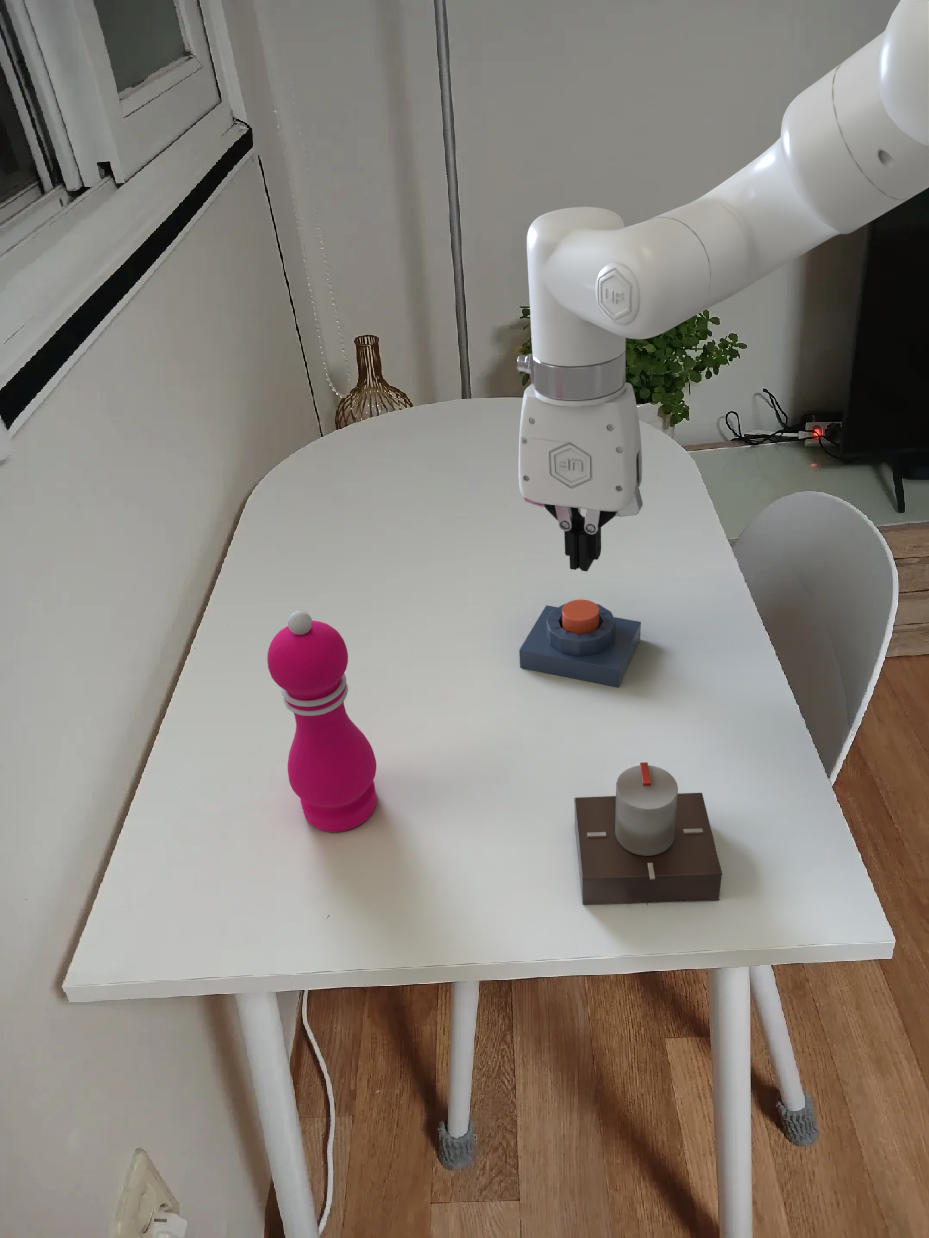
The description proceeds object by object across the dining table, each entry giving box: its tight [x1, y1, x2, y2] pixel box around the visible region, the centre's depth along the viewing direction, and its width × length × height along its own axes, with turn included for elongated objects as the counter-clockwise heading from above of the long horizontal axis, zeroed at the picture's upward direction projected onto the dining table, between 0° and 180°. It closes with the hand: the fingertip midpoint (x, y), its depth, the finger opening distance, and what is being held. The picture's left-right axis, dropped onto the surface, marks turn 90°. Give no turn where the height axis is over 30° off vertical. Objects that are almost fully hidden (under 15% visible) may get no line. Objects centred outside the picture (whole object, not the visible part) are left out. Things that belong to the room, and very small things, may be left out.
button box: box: [518, 603, 642, 688], centre depth 94 cm, size 10×8×4 cm
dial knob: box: [615, 761, 679, 856], centre depth 70 cm, size 4×4×5 cm
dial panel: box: [573, 792, 723, 906], centre depth 73 cm, size 10×9×3 cm
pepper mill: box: [266, 610, 378, 833], centre depth 75 cm, size 7×7×20 cm
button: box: [562, 599, 599, 634], centre depth 92 cm, size 4×4×2 cm
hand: (583, 562), depth 88 cm, fingers closed
